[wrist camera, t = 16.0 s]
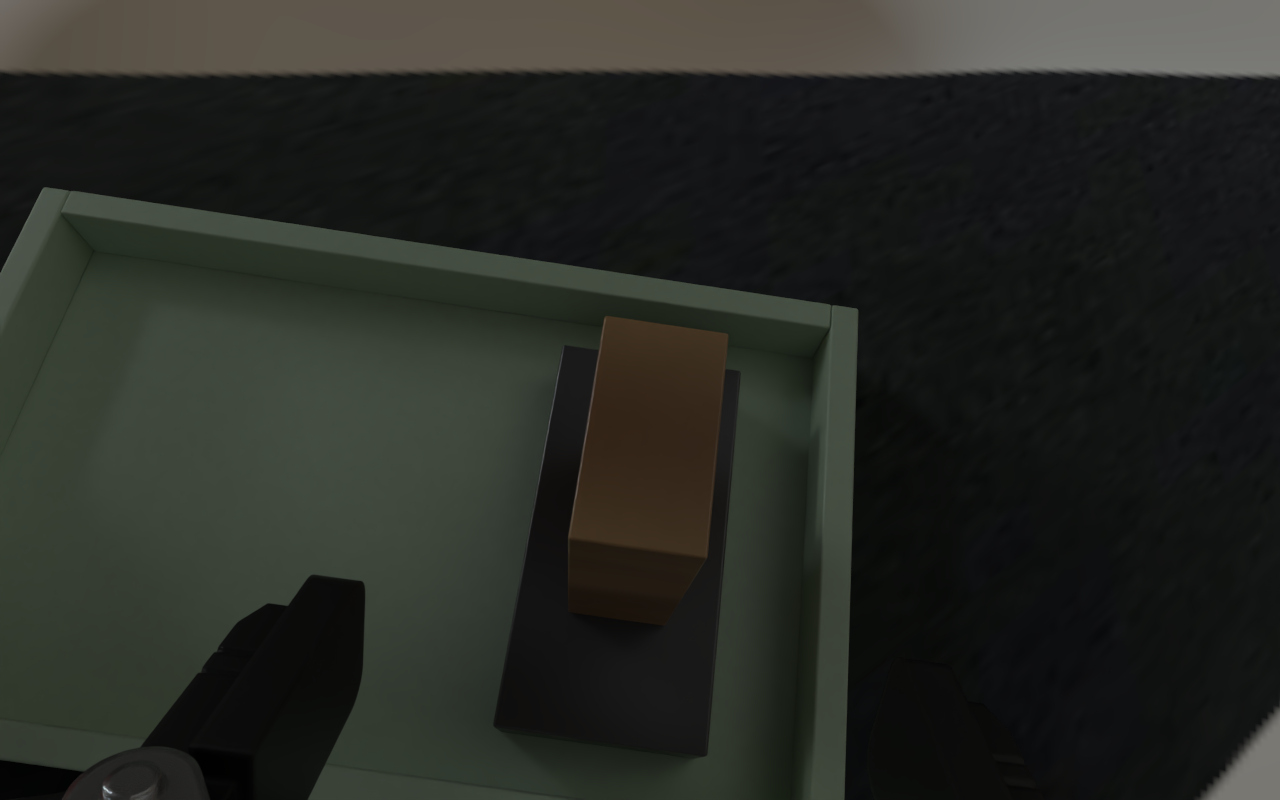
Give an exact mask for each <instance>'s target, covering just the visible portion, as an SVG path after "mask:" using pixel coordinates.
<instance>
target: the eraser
mask: <svg viewBox="0 0 1280 800" xmlns="http://www.w3.org/2000/svg"><path fill="white" fill-rule="evenodd" d="M728 339H729V336H728V334H726V333H720V332H713V331H706V330H700V329H693V328H686V327H679V326H673V325H666V324H659V323H652V322H646V321H639V320H632V319H625V318H619V317H612V316H605V317H604V321H603V327H602V333H601V339H600V345H599V350H594V349H588V348H581V347H574V346H567V345H564V346H563V347H562V351H561V356H560V362H559V367H558V373H557V378H556V384H555V389H554V394H553V400H552V405H551V411H550V416H549V422H548V427H547V433H546V438H545V444H544V449H543V454H542V460H541V465H540V471H539V476H538V482H537V487H536V493H535V498H534V504H533V509H532V514H531V520H530V525H529V531H528V536H527V542H526V547H525V553H524V558H523V564H522V569H521V574H520V580H519V585H518V591H517V596H516V602H515V607H514V613H513V618H512V624H511V629H510V634H509V640H508V645H507V651H506V656H505V662H504V667H503V673H502V678H501V684H500V689H499V694H498V700H497V705H496V711H495V716H494V722H493V726H494V727H495V728H496V729H498V730H499V731H501V732H505V733H512V734H519V735H526V736H534V737H541V738H548V739H555V740H562V741H570V742H577V743H584V744H591V745H598V746H605V747H613V748H620V749H627V750H634V751H641V752H649V753H656V754H663V755H670V756H677V757H685V758H692V759H695V758H700V757H705V756H707V754H708V743H709V731H710V720H711V709H712V697H713V686H714V674H715V663H716V651H717V640H718V629H719V617H720V606H721V594H722V583H723V572H724V560H725V549H726V537H727V526H728V514H729V503H730V492H731V480H732V469H733V457H734V446H735V435H736V423H737V412H738V400H739V389H740V377H741V373H740V371H737V370H730V369H726V359H727V349H728Z"/></svg>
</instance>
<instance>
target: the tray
mask: <svg viewBox="0 0 1280 800" xmlns="http://www.w3.org/2000/svg"><path fill="white" fill-rule="evenodd" d="M605 316H612V317H619V318H625V319H632V320H639V321H646V322H652V323H659V324H666V325H673V326H679V327H686V328H693V329H700V330H706V331H713V332H720V333H726V334H728V336H729V339H728V349H727V359H726V369H730V370H737V371H740V373H741V377H740V389H739V400H738V412H737V423H736V435H735V446H734V457H733V469H732V480H731V492H730V503H729V514H728V526H727V537H726V549H725V560H724V572H723V583H722V594H721V606H720V617H719V629H718V640H717V651H716V663H715V674H714V686H713V697H712V709H711V720H710V731H709V743H708V754H707V756H705V757H700V758H695V759H692V758H685V757H677V756H670V755H663V754H656V753H649V752H641V751H634V750H627V749H620V748H613V747H605V746H598V745H591V744H584V743H577V742H570V741H562V740H555V739H548V738H541V737H534V736H526V735H519V734H512V733H505V732H501V731H499V730H498V729H496V728H495V727H494V726H493V722H494V716H495V711H496V705H497V700H498V694H499V689H500V684H501V678H502V673H503V667H504V662H505V656H506V651H507V645H508V640H509V634H510V629H511V624H512V618H513V613H514V607H515V602H516V596H517V591H518V585H519V580H520V574H521V569H522V564H523V558H524V553H525V547H526V542H527V536H528V531H529V525H530V520H531V514H532V509H533V504H534V498H535V493H536V487H537V482H538V476H539V471H540V465H541V460H542V454H543V449H544V444H545V438H546V433H547V427H548V422H549V416H550V411H551V405H552V400H553V394H554V389H555V384H556V378H557V373H558V367H559V362H560V356H561V351H562V347H563V346H564V345H567V346H574V347H581V348H588V349H594V350H599V345H600V339H601V333H602V327H603V321H604V317H605ZM857 339H858V309H855V308H848V307H841V306H835V305H834V306H832V307H831V305H829V304H822V303H816V302H809V301H802V300H796V299H789V298H782V297H776V296H769V295H762V294H756V293H749V292H742V291H736V290H729V289H722V288H716V287H709V286H702V285H696V284H689V283H682V282H676V281H669V280H662V279H656V278H649V277H642V276H636V275H629V274H622V273H616V272H609V271H602V270H596V269H589V268H583V267H576V266H569V265H563V264H556V263H549V262H543V261H536V260H529V259H523V258H516V257H509V256H503V255H496V254H489V253H483V252H476V251H469V250H463V249H456V248H449V247H443V246H436V245H429V244H423V243H416V242H409V241H403V240H396V239H389V238H383V237H376V236H369V235H363V234H356V233H349V232H343V231H336V230H330V229H323V228H316V227H310V226H303V225H296V224H290V223H283V222H276V221H270V220H263V219H256V218H250V217H243V216H236V215H230V214H223V213H216V212H210V211H203V210H196V209H190V208H183V207H176V206H170V205H163V204H156V203H150V202H143V201H136V200H130V199H123V198H116V197H110V196H103V195H97V194H90V193H83V192H77V191H71V192H69V191H67V190H60V189H54V188H47V187H45V188H43V189H42V191H41V193H40V195H39V197H38V199H37V201H36V203H35V205H34V207H33V209H32V211H31V213H30V215H29V217H28V219H27V221H26V223H25V225H24V227H23V229H22V231H21V233H20V235H19V237H18V239H17V241H16V243H15V245H14V247H13V249H12V251H11V253H10V255H9V257H8V259H7V261H6V263H5V265H4V267H3V269H2V271H1V273H0V760H5V761H12V762H19V763H26V764H33V765H41V766H48V767H55V768H62V769H69V770H77V771H86V770H87V769H88V768H90V767H91V766H93V765H94V764H96V763H98V762H99V761H101V760H103V759H105V758H107V757H110V756H112V755H114V754H117V753H120V752H123V751H126V750H130V749H135V748H140V747H141V745H142V744H143V743H144V741H145V740H146V739H147V738H148V736H149V735H150V734H151V732H152V731H153V730H154V729H155V727H156V726H157V725H158V723H159V722H160V721H161V720H162V718H163V717H164V716H165V714H166V713H167V712H168V711H169V709H170V708H171V707H172V705H173V704H174V703H175V702H176V700H177V699H178V698H179V696H180V695H181V694H182V693H183V691H184V690H185V689H186V687H187V686H188V685H189V684H190V682H191V681H192V680H193V678H194V677H195V676H196V675H197V673H198V672H199V673H201V671H202V667H203V666H204V664H205V663H206V662H207V660H208V659H209V658H210V657H211V655H212V654H213V653H214V652H217V650H218V646H219V645H220V644H221V642H222V641H223V640H224V639H225V637H226V636H227V635H228V633H229V632H230V631H231V630H232V628H233V627H234V626H235V624H236V623H237V622H239V621H240V620H242V619H243V618H245V617H246V616H248V615H250V614H251V613H253V612H254V611H256V610H258V609H259V608H261V607H262V606H264V605H266V604H267V603H271V604H278V605H285V606H288V605H289V604H290V602H291V601H292V599H293V598H294V597H295V595H296V594H297V592H298V591H299V590H300V588H301V587H302V585H303V584H304V582H305V581H306V580H307V578H308V577H309V576H310V575H313V574H315V575H322V576H329V577H336V578H343V579H351V580H358V581H362V582H363V583H364V585H365V623H364V653H363V671H362V678H361V683H360V687H359V691H358V695H357V698H356V701H355V704H354V706H353V709H352V711H351V713H350V715H349V717H348V719H347V721H346V723H345V725H344V727H343V729H342V731H341V733H340V735H339V737H338V739H337V741H336V743H335V745H334V747H333V749H332V751H331V753H330V756H329V758H328V760H327V762H326V764H325V766H324V768H323V770H322V772H321V774H320V776H319V778H318V780H317V782H316V784H315V786H314V788H313V790H312V792H311V794H310V796H309V798H308V800H844V791H845V756H846V722H847V687H848V652H849V617H850V582H851V548H852V513H853V478H854V443H855V408H856V374H857Z"/></svg>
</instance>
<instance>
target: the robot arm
mask: <svg viewBox="0 0 1280 800" xmlns="http://www.w3.org/2000/svg"><path fill="white" fill-rule="evenodd" d="M364 623H365V585H364V583H363V582H362V581H358V580H351V579H343V578H336V577H329V576H322V575H315V574H313V575H310V576H309V577H308V578H307V580H306V581H305V582H304V584H303V585H302V587H301V588H300V590H299V591H298V592H297V594H296V595H295V597H294V598H293V599H292V601H291V602H290V604H289V605H288V606H285V605H278V604H271V603H267V604H266V605H264V606H262V607H261V608H259V609H258V610H256V611H254V612H253V613H251V614H250V615H248V616H246V617H245V618H243V619H242V620H240V621H239V622H237V623H236V624H235V626H234V627H233V628H232V630H231V631H230V632H229V633H228V635H227V636H226V637H225V639H224V640H223V641H222V642H221V644H220V645H219V646H218V650H217V652H214V653H213V654H212V655H211V657H210V658H209V659H208V660H207V662H206V663H205V664H204V666H203V667H202V671H201V673H199V672H198V673H197V675H196V676H195V677H194V678H193V680H192V681H191V682H190V684H189V685H188V686H187V687H186V689H185V690H184V691H183V693H182V694H181V695H180V696H179V698H178V699H177V700H176V702H175V703H174V704H173V705H172V707H171V708H170V709H169V711H168V712H167V713H166V714H165V716H164V717H163V718H162V720H161V721H160V722H159V723H158V725H157V726H156V727H155V729H154V730H153V731H152V732H151V734H150V735H149V736H148V738H147V739H146V740H145V741H144V743H143V744H142V745H141V747H140V748H135V749H130V750H126V751H123V752H120V753H117V754H114V755H112V756H110V757H107V758H105V759H103V760H101V761H99V762H98V763H96V764H94V765H93V766H91V767H90V768H88V769H87V770H86V771H84V772H83V773H82V774H81V775H80V776H79V777H78V778H77V779H76V780H75V781H74V782H73V783H72V784H71V785H70V787H69V788H68V789H67V791H64V792H60V793H54V794H48V795H40V796H32V797H24V798H15V799H7V800H308V798H309V796H310V794H311V792H312V790H313V788H314V786H315V784H316V782H317V780H318V778H319V776H320V774H321V772H322V770H323V768H324V766H325V764H326V762H327V760H328V758H329V756H330V753H331V751H332V749H333V747H334V745H335V743H336V741H337V739H338V737H339V735H340V733H341V731H342V729H343V727H344V725H345V723H346V721H347V719H348V717H349V715H350V713H351V711H352V709H353V706H354V704H355V701H356V698H357V695H358V691H359V687H360V683H361V678H362V671H363V653H364ZM1023 761H1024V759H1023V757H1022V755H1021V753H1020V751H1019V749H1018V747H1017V745H1016V743H1015V741H1014V739H1013V737H1012V735H1011V733H1010V731H1009V730H1008V729H1007V728H1006V727H1005V726H1004V725H1003V724H1002V723H1001V722H1000V721H999V720H998V719H997V718H996V717H995V716H994V715H993V714H992V713H991V712H990V711H989V710H988V709H987V708H986V707H985V706H984V705H983V704H981V703H973V702H968V701H967V699H966V697H965V695H964V693H963V691H962V689H961V686H960V684H959V682H958V680H957V678H956V676H955V674H954V671H953V670H952V668H951V667H950V666H949V665H948V664H942V663H935V662H928V661H921V660H914V659H906V658H896V659H895V660H894V662H893V663H892V666H891V668H890V671H889V674H888V678H887V681H886V684H885V688H884V691H883V694H882V698H881V701H880V704H879V708H878V711H877V714H876V718H875V721H874V724H873V728H872V731H871V734H870V738H869V743H868V752H867V770H868V778H869V783H870V786H871V790H872V794H873V797H874V800H1044V798H1043V796H1042V794H1041V792H1040V790H1039V789H1036V782H1035V780H1034V778H1033V777H1032V775H1031V773H1030V771H1029V769H1028V767H1027V765H1024V763H1023Z"/></svg>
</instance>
